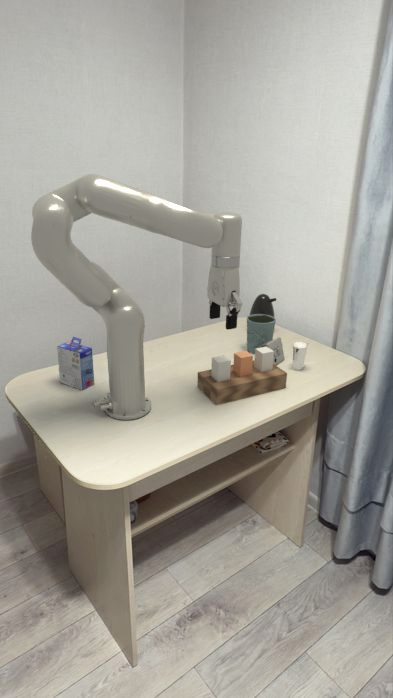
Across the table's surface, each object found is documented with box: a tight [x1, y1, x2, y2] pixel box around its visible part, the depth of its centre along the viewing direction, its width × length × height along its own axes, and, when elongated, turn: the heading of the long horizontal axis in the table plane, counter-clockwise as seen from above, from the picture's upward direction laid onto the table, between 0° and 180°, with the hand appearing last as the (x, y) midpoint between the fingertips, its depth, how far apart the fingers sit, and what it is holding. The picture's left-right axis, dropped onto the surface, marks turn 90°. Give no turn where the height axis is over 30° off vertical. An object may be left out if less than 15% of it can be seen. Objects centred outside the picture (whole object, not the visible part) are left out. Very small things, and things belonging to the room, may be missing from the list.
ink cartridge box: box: [56, 336, 95, 391], centre depth 141 cm, size 10×6×14 cm, turn 58°
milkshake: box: [292, 341, 309, 371], centre depth 153 cm, size 4×5×10 cm
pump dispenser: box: [249, 293, 277, 319], centre depth 183 cm, size 10×10×15 cm
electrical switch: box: [261, 336, 285, 366], centre depth 158 cm, size 8×5×8 cm, turn 141°
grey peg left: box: [211, 355, 232, 382], centre depth 136 cm, size 4×4×6 cm
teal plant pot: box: [246, 314, 277, 355], centre depth 167 cm, size 10×10×12 cm
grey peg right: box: [254, 347, 274, 372], centre depth 142 cm, size 4×4×6 cm
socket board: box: [197, 359, 288, 406], centre depth 141 cm, size 24×12×5 cm, turn 117°
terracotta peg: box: [233, 350, 254, 377], centre depth 139 cm, size 4×4×6 cm
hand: (222, 323), depth 131 cm, fingers open, 8 cm apart
